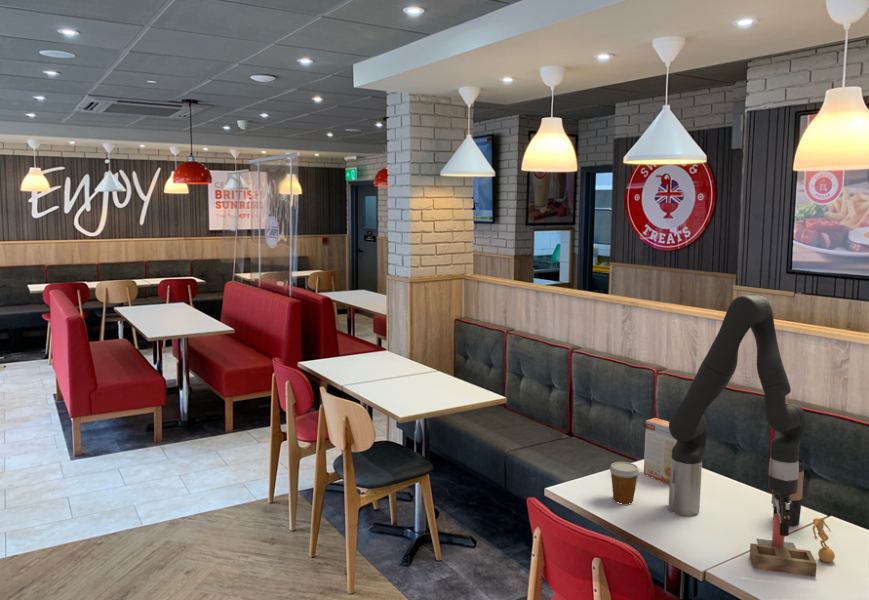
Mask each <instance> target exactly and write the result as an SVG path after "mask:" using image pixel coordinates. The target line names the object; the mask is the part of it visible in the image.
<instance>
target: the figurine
mask: <svg viewBox="0 0 869 600" xmlns="http://www.w3.org/2000/svg"><path fill="white" fill-rule="evenodd" d="M824 527H825V528H827V529H828V531H829V532H831V529H830V527H829V526H828V524H826V522H825V519H824V518H823V517H821V518H818V517H815V518H813V525H812V531H813V535H814V540H816V541H818V538H820V539H821V540H820V545H821V548H819V550H818V552H817V553H818V555H817V556H818V558H819V559H820V560H821V561H822V562H824V563H832V562H833V561H834V560H835V558H836V555H835V552H834V551H833V550H832V549H831V548H830V547H829V546H828V545H827V543H826V542H827V541H828V540H829V538H830V537H829V536H828V534H827V533H826V531H825V530H824ZM815 528H816V529H817V533H816V529H815ZM817 535H818V536H817Z"/></svg>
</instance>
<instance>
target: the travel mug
mask: <svg viewBox="0 0 869 600" xmlns="http://www.w3.org/2000/svg"><path fill="white" fill-rule="evenodd" d="M798 465H799V475H798V491H797V493H795V494H791V495H790V496H789V499H791V503H792V504H793V509H792V524H789V527H797V526H799V525H800V521H801V520H800V519H801V512H802V511H801V510H802V500H803V488H804V487H803V486H804V473H805V461H804V460H803V459H801V458H799V457H798ZM786 519H787V516H786Z"/></svg>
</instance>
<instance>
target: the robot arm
mask: <svg viewBox="0 0 869 600" xmlns="http://www.w3.org/2000/svg"><path fill="white" fill-rule="evenodd" d="M772 309H773V308H772V305H771V303H770V301H769V300H768V299H767V298H766V297H764V296H762V295H755V294H754V295H753V294H750V295H749V294H748V295H747V294H746V295H740V296H737V297H736V298H734V299H733V300H732V301H731V303H730V304H729V306H728V308H727V310H726V312H725V315H724V317H723V320H722V323H721V326H720V328H719V330H718V332H717V335H716V337H715V338H714V340H713V342H712V344H711V345H710V348H709V350H708V351H707V353H706V355H705V357H704V358H703V360H702V363H701V364H700V366H699V367H698V370H697V372H696V374H695V376H694V378H693V380H692V382H691V384H690V386H689V388H688V391H687V392H686V394H685V396H684V398H683V400H682V401H681V402H680V404H679V406H678V407H677V408H676V410H675V411H674V413H673V414H672V415H671V416H670V419H669V421H668V422H669V431H670V433H671V435H672V437H673V438H674V439H676V440H677V442H676V444H675V446H674V447H673V449H672V456H671V477H670V484H668V485H669V486H668V487H669V488H668V489H669V490H668V511H669V513H674V514H676V515H680V516H683V517H684V516H685V517H694V516H697V515H699V513H700V507H701V506H700V504H701V486H702V471H703V470H702V469H703V456H704V453H705V451H706V445H707V434H708V433H707V432H708V423H707V419H706V416H705V415H704V414H705V412H706V411H707V409H708V408H709V407H710V406H711V404H712V403H713V402H714V401H715V400H716V399H717V398H718V397H719V396H721V393H722V392H723V391H724V390H725V389H726V388H727V386H728V384H729V382H730V381H731V379H732V378H733V376H734V374H735V371H736V369H737V366H738V361H739V360H738V357H739V349H740V345H741V343H742V340H743V339H744V337H745V336H746V334H747V333H748V332H749V330H750V329H751V331H752V334H753V336H754V339H755V343H756V345H755V346H756V370H757V374H758V378H759V382H760V384H761V388H762V391H763V396H764V399H763V400H764V402H763V403H764V415H765V418H766V419H765V420H766V421H767V424H768V425H769V426H770V428H771V429H773V430H774V431H775V432H778V435H776V436H775V437H774V438H772V440H771V444H770V458H769V465H768V478H767V482H768V483H767V487H768V489H769V490H770V491H771V492H772V494H771V501H770V502H771V505H772V510H773V514H772V515H773V517H772V518H773V519H772V521H774V514H779V516H780V531H779V533H780V535H781V536H784V537H788V536H789V532H790V526H789V524H792V509H793V504H792V503H791V499H789V496H790V495H791V494H795V493H797V491H798V475H799V465H798V458H799V456H800V455H799V454H800V445H801V442H802V439H803V436H804V434H805V433H804V432H805V429H806V425H807V416H806V413H805V411H804V409H803V407H801V405H799V404H796V403H788V404H786V396H788V395H789V394H791V392H792V391H791V390H792V389H791V384H790V381H789V379H788V376H787V372H786V370H785V368H784V363H783V361H782V358H781V357H782V356H781V353H780V349H779V343H778V338H777V333H776V327H775V320H774V314H773V310H772ZM784 516H787V519H784Z"/></svg>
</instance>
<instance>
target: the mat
mask: <svg viewBox="0 0 869 600" xmlns="http://www.w3.org/2000/svg"><path fill="white" fill-rule="evenodd" d="M756 541H757V542H756V543H757V544H760V545H768V546H772V539H766V538H765V539H763V538H756ZM783 547H784V548H792V549H797V548H796V547H797V546H796V545H795V543H794V542H788V541H784V546H783Z"/></svg>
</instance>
